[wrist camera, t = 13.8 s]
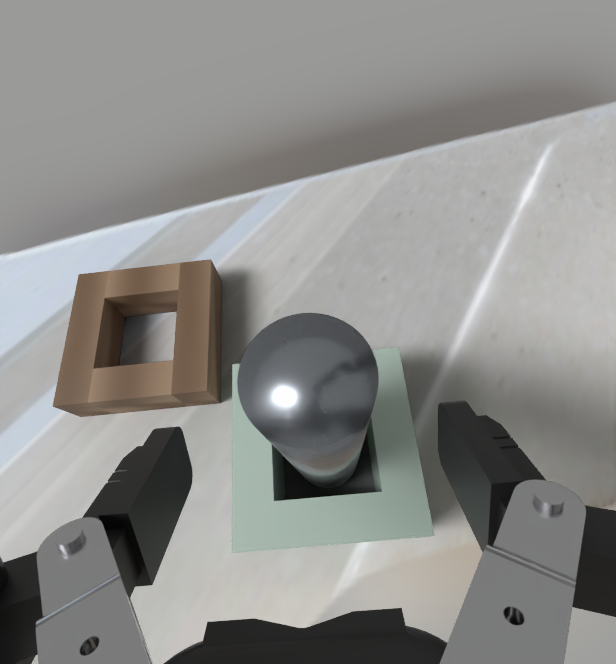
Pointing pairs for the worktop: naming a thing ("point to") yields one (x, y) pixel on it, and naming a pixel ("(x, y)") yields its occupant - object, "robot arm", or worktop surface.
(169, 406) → the walnut socket
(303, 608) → the worktop surface
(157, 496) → the robot arm
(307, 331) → the ball
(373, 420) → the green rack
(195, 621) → the worktop surface
